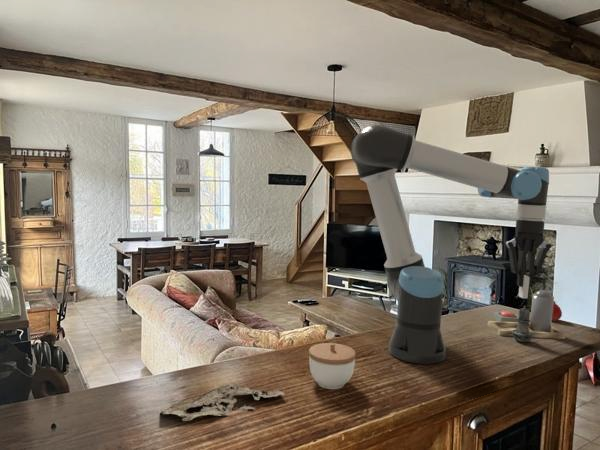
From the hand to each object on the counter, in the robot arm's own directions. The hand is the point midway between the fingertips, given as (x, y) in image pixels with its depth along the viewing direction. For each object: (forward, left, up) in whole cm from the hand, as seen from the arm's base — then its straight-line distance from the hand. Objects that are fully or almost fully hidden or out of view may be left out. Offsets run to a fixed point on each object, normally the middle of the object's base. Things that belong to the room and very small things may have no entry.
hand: (522, 297), depth 136 cm
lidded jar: (-58, -36, -14) cm, 70 cm away
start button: (+4, +20, -13) cm, 24 cm away
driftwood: (-80, -50, -15) cm, 95 cm away
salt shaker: (0, -1, -14) cm, 14 cm away
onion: (+21, +24, -14) cm, 35 cm away
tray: (+5, +8, -14) cm, 17 cm away
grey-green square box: (+4, +20, -14) cm, 25 cm away
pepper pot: (+10, +8, -13) cm, 18 cm away
